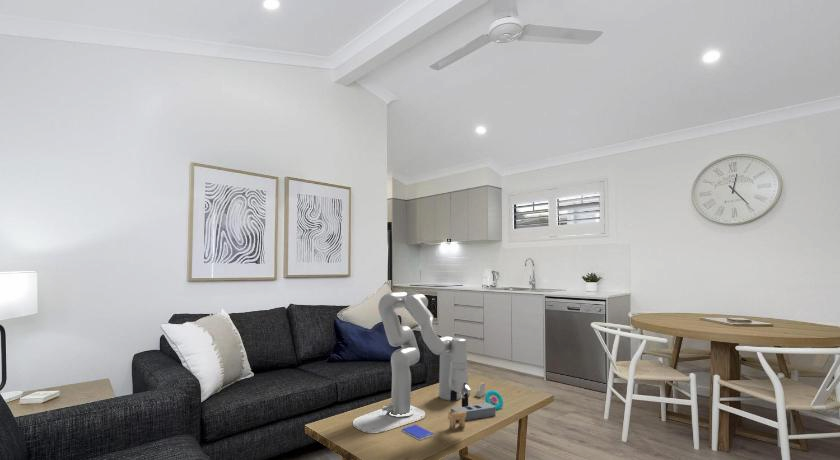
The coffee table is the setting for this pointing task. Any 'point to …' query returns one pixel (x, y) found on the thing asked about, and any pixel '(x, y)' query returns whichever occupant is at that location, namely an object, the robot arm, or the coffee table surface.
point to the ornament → (494, 399)
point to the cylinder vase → (445, 377)
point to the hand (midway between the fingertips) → (459, 403)
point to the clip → (455, 416)
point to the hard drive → (417, 432)
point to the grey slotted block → (477, 410)
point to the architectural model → (481, 390)
